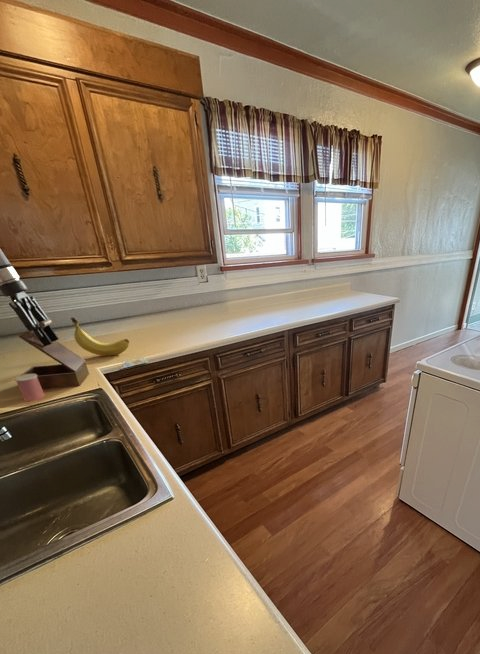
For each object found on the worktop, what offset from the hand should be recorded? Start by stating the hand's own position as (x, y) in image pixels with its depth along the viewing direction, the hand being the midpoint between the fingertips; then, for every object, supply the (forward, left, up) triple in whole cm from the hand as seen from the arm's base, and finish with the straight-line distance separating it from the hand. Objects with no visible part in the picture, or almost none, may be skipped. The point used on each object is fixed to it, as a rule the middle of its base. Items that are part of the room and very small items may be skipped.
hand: (51, 342), depth 125 cm
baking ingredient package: (+19, +19, -17) cm, 32 cm away
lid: (0, 0, -3) cm, 3 cm away
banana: (+4, +35, -17) cm, 39 cm away
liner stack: (-5, -14, -17) cm, 23 cm away
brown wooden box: (-3, 0, -17) cm, 17 cm away
